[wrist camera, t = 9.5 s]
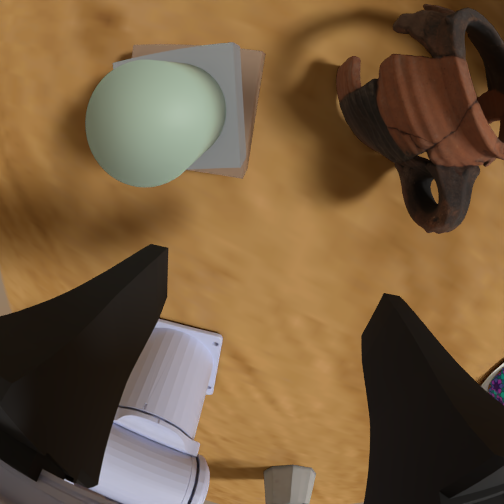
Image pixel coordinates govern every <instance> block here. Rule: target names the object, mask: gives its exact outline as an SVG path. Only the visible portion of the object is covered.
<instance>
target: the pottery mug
mask: <svg viewBox="0 0 504 504" xmlns="http://www.w3.org/2000/svg"><path fill="white" fill-rule="evenodd" d="M423 7H424V9H425V10H421V11H418V12H416V13H414V14H402V15H400V16H399V18H398V19H397V20H396V21H395V23H394V24H393V30H394V31H396V32H397V33H403V34H410V35H411V37H413V38H414V39H416V40H417V41H418V42H420V43H421V44H422V45H423V46H424V47H425V48H426V50H427V51H428V52H429V53H430V54H431V55H432V57H433V58H428V57H424V56H412V55H401V54H392V55H391V56H390V57H388V58H387V59H385V60H384V61H383V63H381V65H380V70H379V78H378V79H372V80H371V81H369V82H368V83H367V84H365V85H364V86H362V87H361V81H360V62H361V61H360V59H359V58H358V57H356V56H352V57H350V58H348V59H347V60H346V62H344V63H343V65H341V66H340V67H339V68H338V70H337V78H336V84H337V94H338V99H339V102H340V108H341V110H342V113H343V115H344V117H345V120H346V122H347V124H348V125H349V126H350V128H351V130H352V131H353V133H354V134H355V135H356V136H357V138H358V139H359V140H360V141H361V142H363V143H364V144H366V145H367V146H368V147H370V148H371V149H373V150H375V151H377V152H379V153H380V154H382V155H383V156H385V157H386V158H388V159H389V160H391V161H392V162H394V163H395V167H396V169H397V171H398V173H399V176H400V180H401V186H402V193H403V198H404V202H405V205H406V208H407V210H408V212H409V214H410V216H411V218H412V219H413V220H414V221H415V222H416V223H417V224H418V225H419V226H421V227H422V228H423V229H424V230H425V231H426V232H427V233H431V232H435V233H438V234H440V233H444V232H450V231H452V230H454V229H455V228H456V227H457V226H459V225H460V224H461V222H462V221H463V220H464V218H465V216H466V213H467V211H468V207H469V204H470V199H471V193H472V187H473V184H474V182H475V180H476V178H477V176H478V175H479V173H480V168H479V166H477V165H482V164H483V165H484V166H485V167H486V166H488V165H489V164H491V163H492V162H493V161H494V160H495V159H496V158H499V159H502V160H504V42H503V40H502V39H501V38H500V36H499V34H498V32H497V31H496V30H495V28H494V27H493V25H492V24H491V23H489V22H488V20H487V19H486V18H485V17H484V16H483V15H481V14H480V13H479V12H477V11H476V10H474V9H471V8H464V9H461V10H459V11H456V12H454V11H452V10H450V9H447V8H443V7H441V6H436V5H428V4H424V5H423ZM465 31H466V32H468V37H469V39H470V40H471V42H472V43H473V44H474V46H475V47H476V49H477V50H478V52H479V53H480V55H481V57H482V59H483V62H484V66H485V70H486V78H487V85H488V91H487V92H486V93H483V94H482V95H481V96H480V97H478V98H477V96H476V93H475V90H474V87H473V84H472V80H471V76H470V73H469V69H468V64H467V61H466V59H465V54H466V53H465ZM499 120H500V131H499V137H498V138H497V136H496V135H495V134H494V132H493V131H492V129H491V127H490V126H489V124H488V123H492V122H493V121H499ZM423 152H427V154H428V157H429V159H430V160H428V159H426V158H422V157H420V156H417V155H419V154H422V153H423ZM433 179H435V181H436V184H437V187H438V192H439V201H438V204H437V203H436V202H435V200H434V198H433V196H432V193H431V188H430V186H431V182H432V180H433Z"/></svg>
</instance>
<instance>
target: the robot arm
mask: <svg viewBox="0 0 504 504" xmlns="http://www.w3.org/2000/svg"><path fill="white" fill-rule="evenodd" d="M167 275H168V248H167V247H162V246H157V245H153V244H150V245H148V246H147V247H145V248H143V249H141V250H140V251H138V252H137V253H135V254H133V255H132V256H130V257H129V258H127V259H125V260H124V261H122V262H120V263H119V264H117V265H115V266H114V267H112V268H111V269H109V270H107V271H106V272H104V273H102V274H100V275H98V276H97V277H95V278H93V279H91V280H89V281H88V282H86V283H84V284H82V285H80V286H78V287H77V288H75V289H72V290H70V291H68V292H66V293H64V294H62V295H60V296H57V297H55V298H53V299H51V300H48V301H45V302H43V303H40V304H37V305H35V306H32V307H29V308H27V309H24V310H21V311H18V312H14V313H11V314H8V315H4V316H0V504H203V503H204V501H205V498H206V495H207V491H208V487H209V481H210V471H209V467H208V465H207V462H206V460H205V458H204V457H203V456H202V455H199V454H198V450H199V446H200V443H199V442H196V441H194V437H195V434H196V430H197V426H198V422H199V418H200V414H201V410H202V406H203V403H204V399H205V395H206V394H207V395H211V394H213V390H214V385H215V379H216V373H217V368H218V362H219V357H220V351H221V346H222V341H223V337H222V336H221V335H220V334H218V333H214V332H209V331H205V330H201V329H197V328H193V327H189V326H185V325H181V324H177V323H173V322H169V321H166V320H162V319H159V317H160V314H161V312H162V309H163V306H164V304H165V301H166V298H167ZM361 339H362V365H363V372H364V379H365V386H366V393H367V401H368V408H369V416H370V456H369V470H368V479H367V486H366V493H365V499H364V504H504V405H503V404H501V403H500V402H499V401H498V400H496V399H495V398H494V397H493V396H492V395H490V394H489V393H488V392H487V391H486V390H485V389H483V388H482V387H481V386H480V385H479V384H478V383H477V382H476V381H475V380H474V379H473V378H472V377H471V376H470V375H469V374H468V373H467V372H466V371H465V370H464V369H463V368H462V367H461V366H460V365H459V364H458V363H457V362H456V361H455V360H454V359H453V357H452V356H451V355H450V354H449V353H448V352H447V351H446V350H445V348H444V347H443V346H442V345H441V344H440V343H439V341H438V340H437V339H436V338H435V337H434V335H433V334H432V333H431V332H430V331H429V329H428V328H427V327H426V326H425V324H424V323H423V322H422V321H421V320H420V318H419V317H418V316H417V315H416V314H415V312H414V311H413V310H412V309H411V308H410V307H409V306H408V304H407V303H406V302H405V301H404V300H403V299H402V298H401V297H400V296H396V295H391V294H386V293H384V294H383V296H382V298H381V300H380V302H379V304H378V306H377V308H376V310H375V312H374V313H373V315H372V317H371V319H370V321H369V323H368V325H367V326H366V328H365V330H364V332H363V334H362V336H361ZM215 342H217V343H215Z"/></svg>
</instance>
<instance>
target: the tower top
mask: <svg viewBox="0 0 504 504" xmlns="http://www.w3.org/2000/svg"><path fill="white" fill-rule="evenodd" d="M136 60H158V61H168V62H177V63H186V64H191V65H194V66H197V67H199V68H201V69H203V70H205V71H206V72H207V73H209V74H210V75H211V76H212V77H213V78H214V79H215V80H216V81H217V83H218V84H219V86H220V88H221V90H222V92H223V95H224V97H225V102H226V119H225V124H224V127H223V130H222V132H221V134H220V136H219V137H218V139H217V140H216V142H215V143H214V144H213V145H212V146H211V147H210V148H209V149H208V150H207V151H206V152H204V153H203V154H202V155H201V156H200V157H199V158H198V159H197V160H196V161H195V162H194V163H193V164H192V165H191V166H189V167H188V168H187V169H186V170H190V169H212V168H241V166H242V164H243V162H244V161H245V159H246V143H245V126H244V108H243V91H242V74H241V56H240V46H238V45H237V44H235V43H233V42H232V43H221V44H212V45H203V46H196V47H189V48H182V49H176V50H170V51H165V52H159V53H154V54H149V55H144V56H140V57H135V58H131V59H127V60H123V61H119V62H115V63H113V70H114V69H115V68H117V67H119V66H121V65H123V64H125V63H128V62H131V61H136Z"/></svg>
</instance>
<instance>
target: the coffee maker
mask: <svg viewBox="0 0 504 504" xmlns="http://www.w3.org/2000/svg"><path fill="white" fill-rule="evenodd" d="M315 476H316V473H315V472H314V471H313V469H312V468H308V467H302V466H297V465H285V466H272V467H270V468H269V469H267V470H265V471H264V485H265V500H266V504H309V502H310V498H311V494H312V489H313V485H314V480H315Z"/></svg>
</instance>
